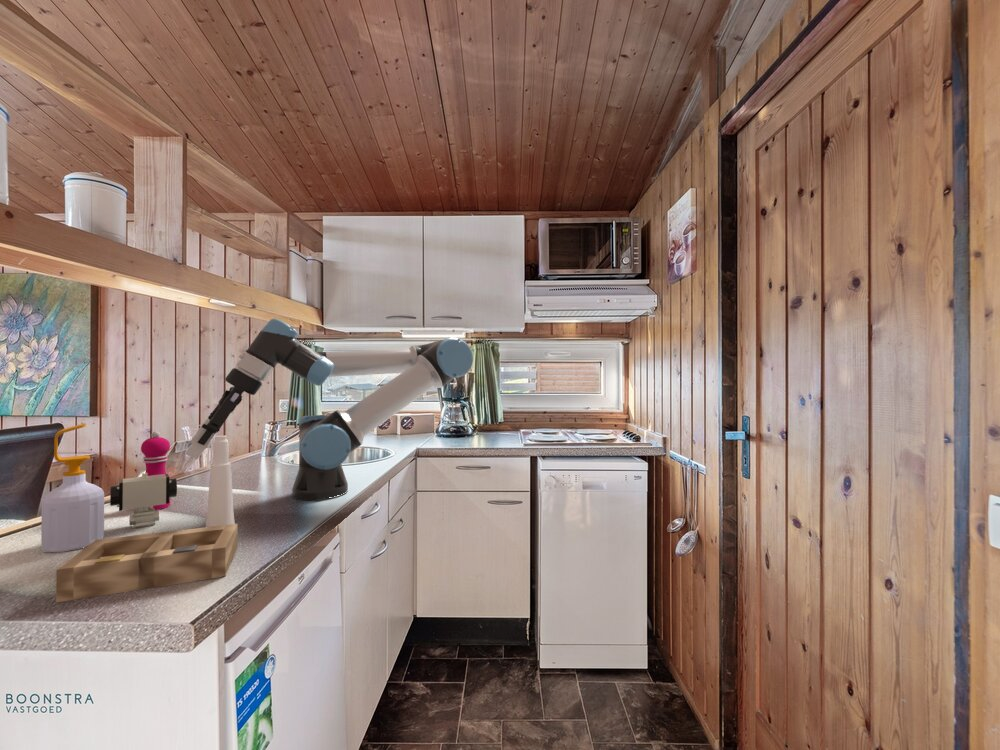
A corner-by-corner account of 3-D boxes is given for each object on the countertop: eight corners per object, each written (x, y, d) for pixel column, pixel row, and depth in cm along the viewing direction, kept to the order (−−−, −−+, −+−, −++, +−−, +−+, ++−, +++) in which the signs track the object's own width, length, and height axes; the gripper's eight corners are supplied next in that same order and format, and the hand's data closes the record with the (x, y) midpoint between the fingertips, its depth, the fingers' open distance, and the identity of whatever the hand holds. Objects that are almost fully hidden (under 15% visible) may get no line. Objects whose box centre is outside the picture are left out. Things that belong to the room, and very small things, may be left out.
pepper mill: (135, 507, 113) (136, 431, 113) (170, 501, 118) (170, 428, 118) (139, 513, 108) (139, 433, 108) (174, 507, 113) (175, 431, 113)
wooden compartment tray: (237, 548, 86) (237, 522, 86) (225, 576, 74) (225, 545, 74) (95, 567, 77) (95, 538, 77) (56, 602, 66) (56, 567, 66)
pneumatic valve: (176, 522, 102) (177, 471, 102) (109, 533, 94) (110, 479, 94) (174, 516, 106) (175, 467, 106) (110, 527, 98) (111, 474, 98)
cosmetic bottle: (243, 535, 94) (243, 434, 94) (225, 546, 88) (226, 437, 88) (215, 535, 94) (216, 433, 94) (195, 545, 88) (196, 437, 88)
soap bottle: (104, 544, 88) (105, 424, 88) (39, 557, 82) (40, 428, 82) (103, 533, 94) (104, 421, 95) (42, 544, 88) (43, 424, 88)
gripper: (234, 364, 116) (182, 433, 111) (234, 368, 95) (170, 453, 90) (260, 379, 120) (211, 446, 115) (266, 386, 99) (206, 469, 93)
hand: (193, 450), depth 102 cm, fingers open, 13 cm apart
